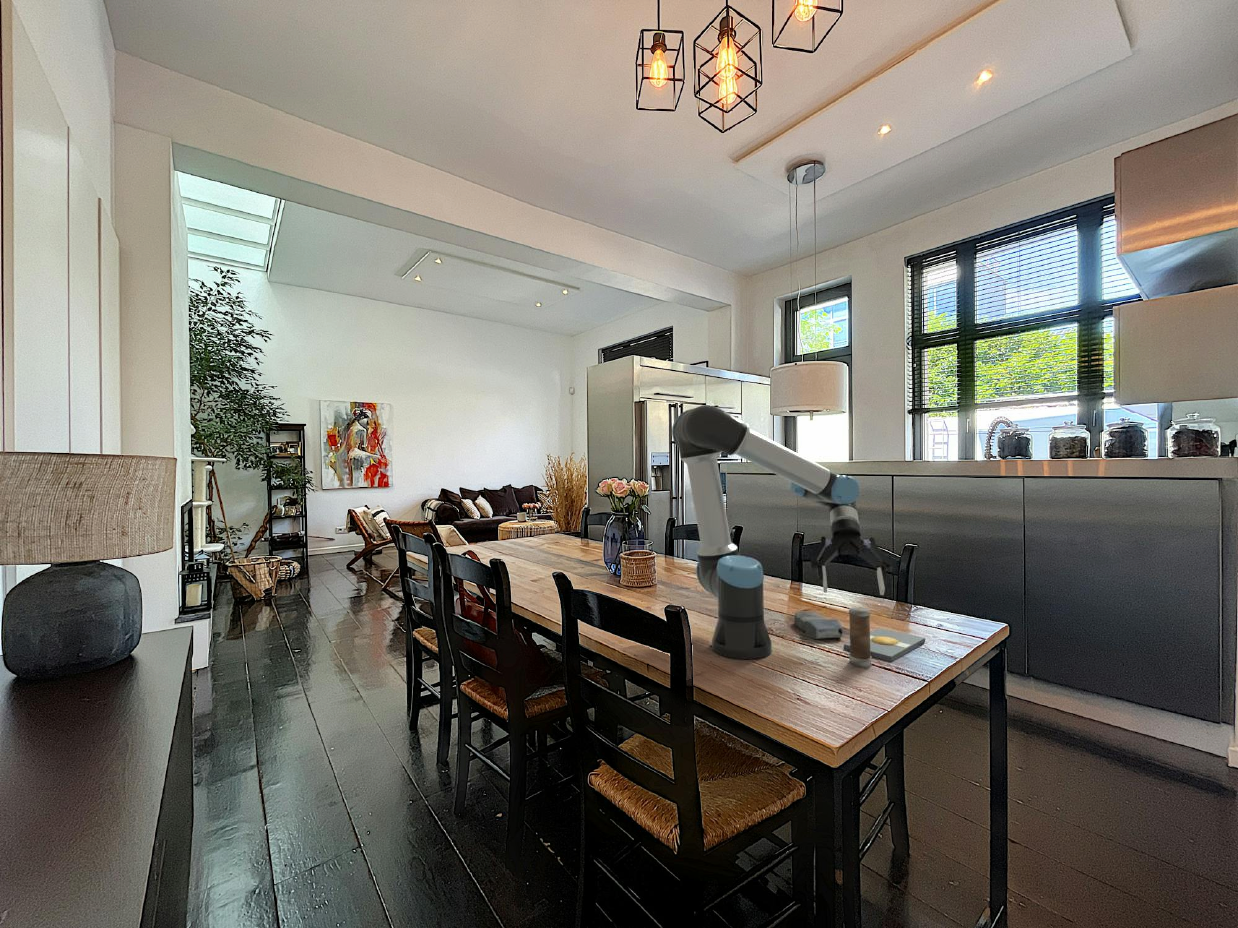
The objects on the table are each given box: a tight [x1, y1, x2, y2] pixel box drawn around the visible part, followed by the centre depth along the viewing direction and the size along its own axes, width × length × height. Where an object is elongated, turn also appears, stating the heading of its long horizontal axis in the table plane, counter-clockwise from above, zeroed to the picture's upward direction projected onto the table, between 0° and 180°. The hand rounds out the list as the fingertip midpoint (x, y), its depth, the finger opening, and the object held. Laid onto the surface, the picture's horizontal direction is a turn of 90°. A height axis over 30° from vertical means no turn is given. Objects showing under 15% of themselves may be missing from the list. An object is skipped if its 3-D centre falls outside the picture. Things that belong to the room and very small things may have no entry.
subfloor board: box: [843, 627, 926, 662], centre depth 140 cm, size 20×12×1 cm, turn 130°
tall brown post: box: [848, 606, 873, 669], centre depth 128 cm, size 5×5×13 cm
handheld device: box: [793, 611, 844, 640], centre depth 155 cm, size 10×20×5 cm, turn 5°
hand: (853, 591), depth 138 cm, fingers open, 13 cm apart
